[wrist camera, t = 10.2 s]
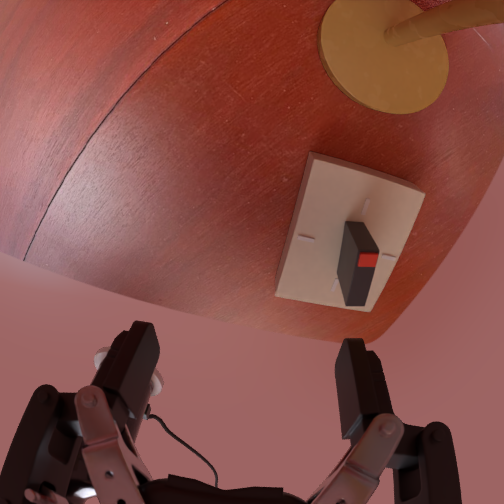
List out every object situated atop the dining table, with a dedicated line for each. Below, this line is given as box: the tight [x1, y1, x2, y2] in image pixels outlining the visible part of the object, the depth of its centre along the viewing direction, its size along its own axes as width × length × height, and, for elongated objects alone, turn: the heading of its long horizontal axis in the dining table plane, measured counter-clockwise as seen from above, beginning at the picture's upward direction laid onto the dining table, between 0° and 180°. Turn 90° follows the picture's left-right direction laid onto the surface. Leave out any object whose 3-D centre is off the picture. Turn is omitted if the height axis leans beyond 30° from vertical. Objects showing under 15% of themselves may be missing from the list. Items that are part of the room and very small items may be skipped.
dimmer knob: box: [337, 221, 380, 306], centre depth 21 cm, size 5×2×5 cm, turn 0°
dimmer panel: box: [275, 151, 425, 312], centre depth 24 cm, size 13×10×3 cm
